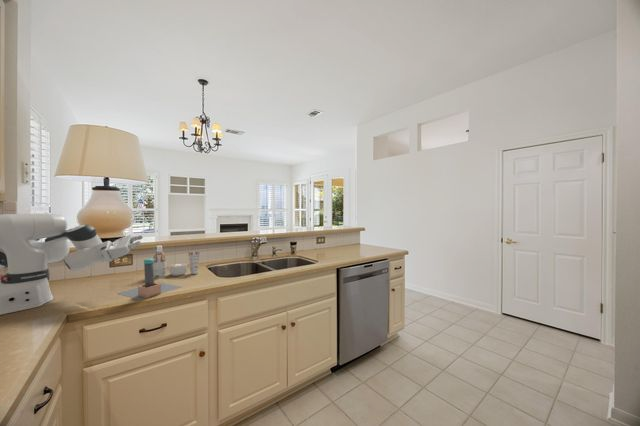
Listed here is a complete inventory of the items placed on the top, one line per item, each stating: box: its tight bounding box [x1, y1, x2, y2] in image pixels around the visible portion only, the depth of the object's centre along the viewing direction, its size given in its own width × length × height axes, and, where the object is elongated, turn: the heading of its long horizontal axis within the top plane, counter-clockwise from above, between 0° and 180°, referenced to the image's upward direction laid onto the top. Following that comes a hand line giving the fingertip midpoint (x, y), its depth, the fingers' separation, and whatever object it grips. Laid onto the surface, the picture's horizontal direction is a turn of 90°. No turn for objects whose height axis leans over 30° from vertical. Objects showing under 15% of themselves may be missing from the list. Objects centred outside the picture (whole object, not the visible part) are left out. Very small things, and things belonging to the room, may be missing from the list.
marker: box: [143, 258, 155, 287], centre depth 117 cm, size 4×4×16 cm
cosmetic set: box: [152, 245, 201, 278], centre depth 152 cm, size 25×9×19 cm, turn 115°
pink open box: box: [137, 282, 162, 299], centre depth 117 cm, size 7×7×4 cm
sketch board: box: [117, 281, 182, 301], centre depth 123 cm, size 20×19×1 cm
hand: (141, 239), depth 126 cm, fingers open, 8 cm apart
